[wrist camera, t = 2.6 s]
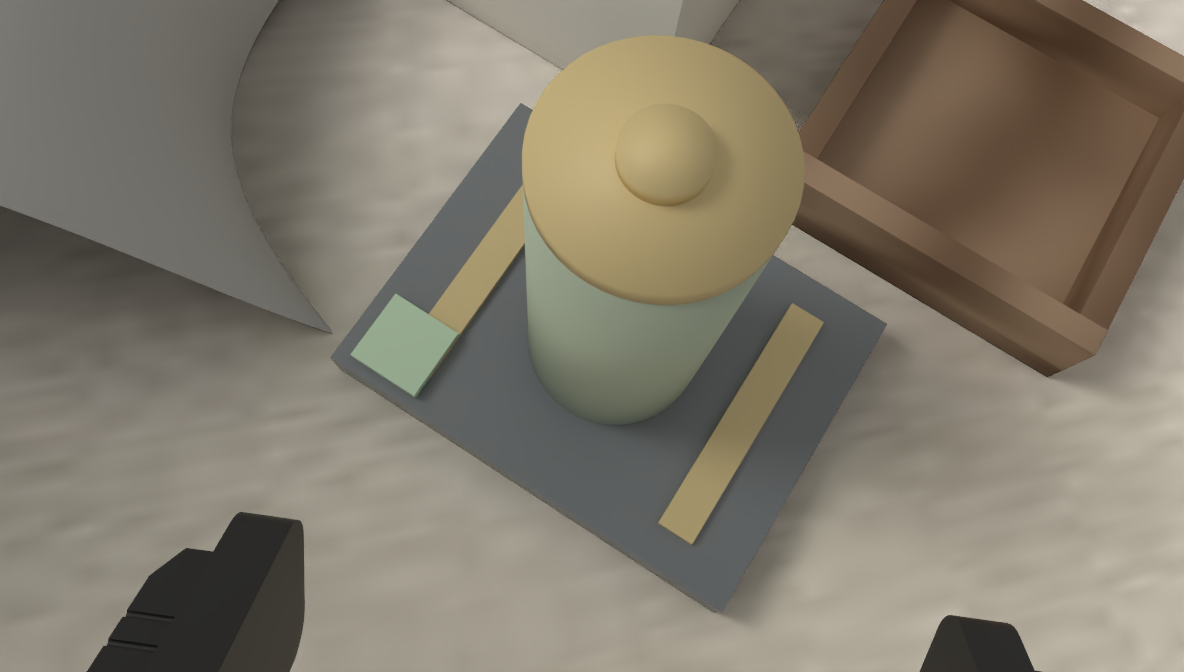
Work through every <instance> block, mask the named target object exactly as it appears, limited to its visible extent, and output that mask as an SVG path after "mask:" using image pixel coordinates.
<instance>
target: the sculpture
mask: <svg viewBox="0 0 1184 672" xmlns="http://www.w3.org/2000/svg"><path fill="white" fill-rule="evenodd" d="M278 1H279V0H0V206H2V207H5V208H8V209H11V210H14V211H16V212H19V213H22V214H25V215H27V216H30V217H33V218H35V219H38V220H41V221H43V222H46V223H49V224H51V225H54V226H57V227H59V228H62V229H65V230H67V231H70V232H72V233H75V234H77V235H80V236H83V237H85V238H88V239H90V240H93V241H95V242H98V243H101V244H103V245H106V246H108V247H111V248H113V249H116V250H118V251H121V252H123V253H126V254H128V255H131V256H133V257H136V258H138V259H141V260H143V261H146V262H148V263H150V264H153V265H155V266H158V267H160V268H163V269H165V270H168V271H170V272H173V273H175V274H178V275H180V276H182V277H185V278H187V279H190V280H192V281H195V282H197V283H200V284H202V285H205V286H207V287H210V288H212V289H215V290H217V291H220V292H222V293H225V294H227V295H230V296H232V297H235V298H237V299H240V300H242V301H245V302H247V303H250V304H252V305H255V306H257V307H260V308H263V309H265V310H268V311H271V312H273V313H276V314H278V315H281V316H284V317H286V318H289V319H292V320H295V321H298V322H300V323H303V324H306V325H309V326H312V327H314V328H317V329H320V330H323V331H326V332H329V333H332V331H331V329H330V328H329V327H328V325H327V324H326V323H325V322H324V321H323V319H322V318H321V317H320V315H319V314H318V313H317V311H316V310H315V309H314V308H313V307H312V305H311V304H310V303H309V301H308V300H307V299H306V297H305V296H304V295H303V293H302V292H301V291H300V289H299V288H298V287H297V285H296V284H295V283H294V281H293V280H292V278H291V277H290V276H289V274H288V273H287V271H286V270H285V268H284V267H283V266H282V264H281V263H280V261H279V259H278V258H277V256H276V255H275V253H274V252H273V250H272V248H271V247H270V245H269V243H268V242H267V240H266V238H265V237H264V235H263V233H262V231H261V229H260V227H259V226H258V224H257V222H256V220H255V218H254V216H253V214H252V211H251V209H250V207H249V204H248V202H247V200H246V197H245V195H244V192H243V189H242V186H241V183H240V180H239V177H238V173H237V169H236V165H235V161H234V155H233V148H232V137H231V121H232V110H233V103H234V98H235V94H236V90H237V87H238V84H239V80H240V77H241V73H242V70H243V67H244V65H245V62H246V60H247V57H248V55H249V53H250V50H251V48H252V46H253V44H254V42H255V40H256V38H257V36H258V34H259V32H260V30H261V29H262V27H263V25H264V23H265V22H266V20H267V18H268V17H269V15H270V13H271V12H272V10H273V9H274V7H275V5H276V4H277V2H278ZM332 334H333V333H332Z"/></svg>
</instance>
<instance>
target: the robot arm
mask: <svg viewBox="0 0 1184 672" xmlns="http://www.w3.org/2000/svg"><path fill="white" fill-rule="evenodd" d="M304 611H305V600H304V533H303V525H302V523H301V521H299V520H294V519H287V518H280V517H273V516H266V515H259V514H252V513H245V512H239V513H238V514H236V516H235V517H234V518H233V519H232V521H231V522H230V524H229V526H228V527H227V529H226V531H225V533H224V534H223V536H222V538H221V539H220V541H219V543H218V544H217V546H216V548H215V550H214V551H213V552H211V551H204V550H197V549H189V548H186V549H184V550H183V551H182V552H180V553H179V554H178V555H176V556H175V557H174V558H172V559H171V560H170V561H168V562H167V563H166V564H164V565H163V566H162V567H160V568H159V569H158V570H156V571H155V572H154V573H152V574H151V575H150V576H149V577H148V579H147V580H146V582H145V583H144V585H143V586H142V588H141V589H140V591H139V593H138V594H137V596H136V597H135V599H134V600H133V602H132V603H131V605H130V606H129V608H128V609H127V614H126V617H122V619H121V620H120V622H119V623H118V625H117V626H116V628H115V629H114V631H113V632H112V634H111V635H110V637H109V640H108V644H107V646H103V648H102V649H101V651H100V652H99V654H98V655H97V657H96V658H95V660H94V662H93V663H92V665H91V666H90V668H89V669H88V671H87V672H290V669H291V667H292V665H293V662H294V660H295V657H296V654H297V650H298V647H299V643H300V639H301V634H302V629H303V622H304ZM920 672H1040V671H1034V668H1033V666H1032V664H1031V661H1030V659H1029V657H1028V654H1027V652H1026V650H1025V647H1024V645H1023V643H1022V640H1021V638H1020V636H1019V634H1018V632H1017V630H1016V629H1015V628H1014V627H1013V626H1012V625H1011V624H1008V623H1002V622H995V621H988V620H981V619H974V618H967V617H960V616H953V615H948V616H946V617H945V618H944V619H943V620H942V621H941V623H940V625H939V627H938V629H937V631H936V634H935V636H934V639H933V641H932V643H931V646H930V648H929V651H928V653H927V655H926V658H925V660H924V663H923V665H922V667H921V670H920Z"/></svg>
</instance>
